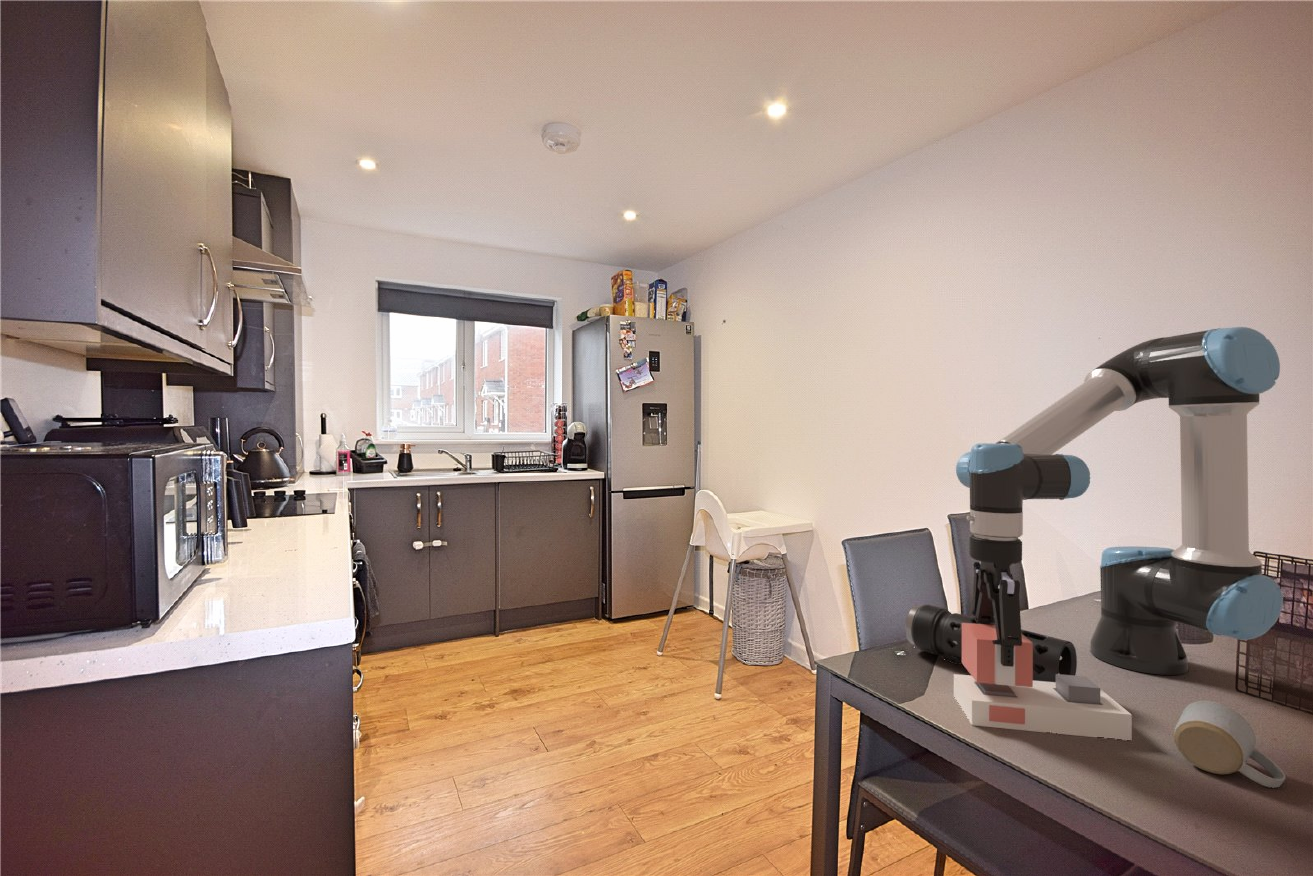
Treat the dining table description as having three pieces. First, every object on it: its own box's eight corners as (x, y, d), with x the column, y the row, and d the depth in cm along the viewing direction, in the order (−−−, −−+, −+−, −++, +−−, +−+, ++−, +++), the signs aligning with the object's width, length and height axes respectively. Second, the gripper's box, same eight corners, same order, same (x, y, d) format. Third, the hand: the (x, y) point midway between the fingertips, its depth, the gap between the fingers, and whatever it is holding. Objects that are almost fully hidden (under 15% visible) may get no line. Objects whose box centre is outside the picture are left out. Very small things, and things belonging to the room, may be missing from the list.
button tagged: (1004, 705, 96) (1004, 681, 96) (1015, 718, 92) (1015, 693, 92) (976, 702, 97) (976, 679, 97) (985, 715, 93) (985, 691, 93)
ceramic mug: (1170, 762, 80) (1172, 709, 80) (1181, 742, 85) (1183, 692, 85) (1281, 801, 72) (1283, 742, 72) (1287, 776, 77) (1288, 721, 77)
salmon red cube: (1012, 666, 97) (1012, 626, 97) (1032, 687, 89) (1032, 643, 89) (961, 662, 99) (961, 622, 99) (976, 682, 91) (976, 639, 91)
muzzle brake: (1056, 707, 97) (1056, 647, 97) (902, 655, 119) (902, 606, 119) (1077, 691, 102) (1077, 634, 102) (926, 645, 125) (926, 598, 125)
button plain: (1085, 700, 93) (1085, 676, 93) (1100, 713, 89) (1100, 688, 89) (1055, 698, 94) (1055, 674, 94) (1068, 710, 90) (1068, 685, 90)
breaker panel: (1096, 709, 95) (1096, 685, 95) (1132, 741, 86) (1132, 715, 85) (953, 696, 100) (953, 674, 100) (972, 726, 90) (972, 701, 90)
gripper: (952, 525, 105) (951, 647, 105) (992, 547, 85) (992, 699, 85) (997, 526, 103) (996, 651, 104) (1049, 550, 83) (1048, 704, 83)
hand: (994, 672), depth 94 cm, fingers closed on salmon red cube, 8 cm apart
